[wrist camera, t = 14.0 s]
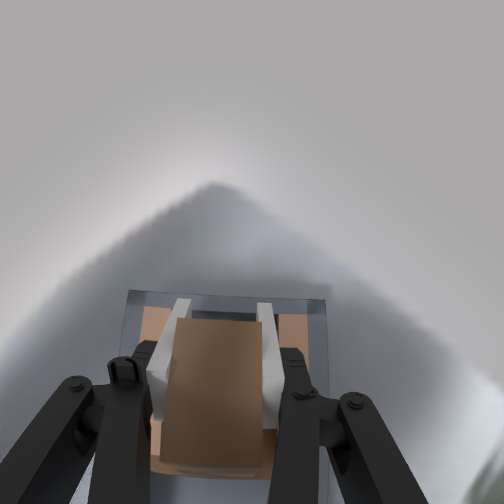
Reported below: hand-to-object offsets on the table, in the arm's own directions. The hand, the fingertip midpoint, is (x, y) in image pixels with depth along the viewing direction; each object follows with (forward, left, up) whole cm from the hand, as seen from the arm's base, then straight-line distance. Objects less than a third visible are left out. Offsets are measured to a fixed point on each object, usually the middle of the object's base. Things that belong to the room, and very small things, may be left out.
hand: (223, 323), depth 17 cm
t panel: (0, -6, -4) cm, 8 cm away
